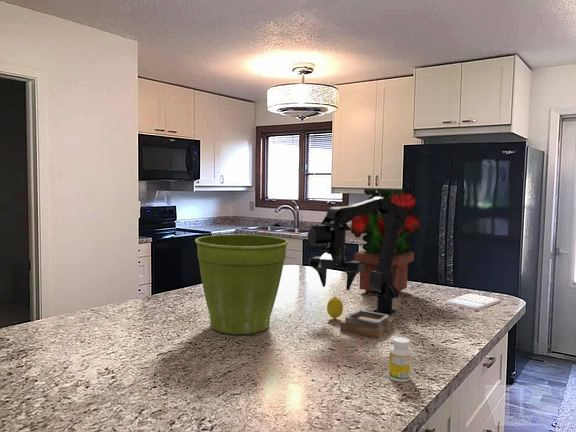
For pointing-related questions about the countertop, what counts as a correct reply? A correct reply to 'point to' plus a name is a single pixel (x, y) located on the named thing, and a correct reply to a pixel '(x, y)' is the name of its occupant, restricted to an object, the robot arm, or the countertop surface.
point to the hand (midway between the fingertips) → (335, 288)
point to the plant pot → (240, 279)
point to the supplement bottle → (400, 360)
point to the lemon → (335, 307)
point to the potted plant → (375, 235)
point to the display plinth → (367, 324)
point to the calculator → (473, 301)
